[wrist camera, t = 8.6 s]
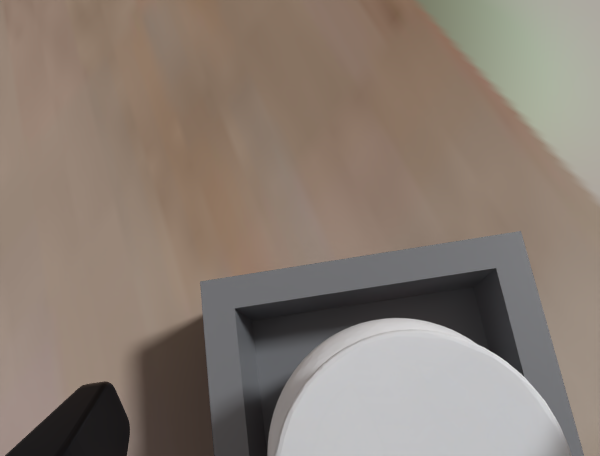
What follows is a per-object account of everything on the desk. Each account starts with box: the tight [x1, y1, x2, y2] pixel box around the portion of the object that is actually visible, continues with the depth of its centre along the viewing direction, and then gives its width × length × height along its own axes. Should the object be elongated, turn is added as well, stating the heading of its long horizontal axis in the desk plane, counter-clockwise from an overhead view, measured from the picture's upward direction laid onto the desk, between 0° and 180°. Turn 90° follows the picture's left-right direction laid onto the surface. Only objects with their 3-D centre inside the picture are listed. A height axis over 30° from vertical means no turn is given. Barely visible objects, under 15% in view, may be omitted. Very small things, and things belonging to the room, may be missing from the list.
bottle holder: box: [200, 231, 584, 456], centre depth 17 cm, size 10×10×4 cm
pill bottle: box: [267, 318, 572, 456], centre depth 13 cm, size 6×6×10 cm
